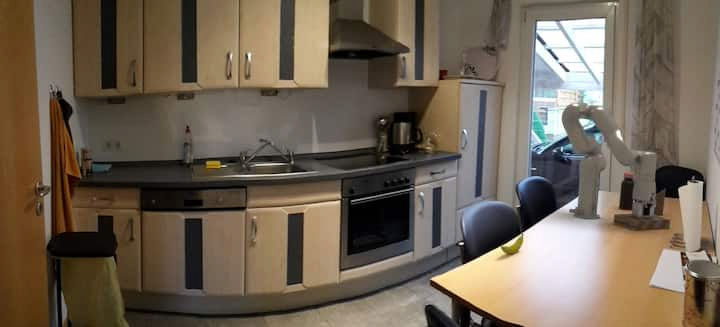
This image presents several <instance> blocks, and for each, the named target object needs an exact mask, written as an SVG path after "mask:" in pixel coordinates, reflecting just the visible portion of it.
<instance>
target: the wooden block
mask: <svg viewBox="0 0 720 327" xmlns="http://www.w3.org/2000/svg"><path fill="white" fill-rule="evenodd" d="M666 190H667V189H666V188H664V189H662V190H661V191H660V192H658V193H656V196H655V200H656V204H655V206H654V215H656V216H660V217H663V215H664V208H665V197H666ZM643 202H644V201H643Z"/></svg>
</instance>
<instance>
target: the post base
mask: <svg viewBox="0 0 720 327" xmlns="http://www.w3.org/2000/svg"><path fill="white" fill-rule="evenodd" d="M613 224H614V225H617V226H619V227H620V226H621V227H623V228H625V229H629V230H632V231H637V232H638V231H652V230H655V231H656V230H670V226H671V219H669V218H667V217H663V216H661V215H655V214H654V217H653V218H643V219H636V218H633V217H632V213H617V214H616V213H615V214H614V216H613Z"/></svg>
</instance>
